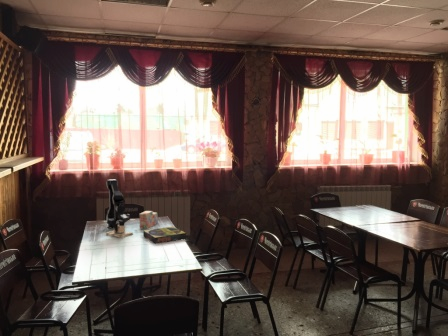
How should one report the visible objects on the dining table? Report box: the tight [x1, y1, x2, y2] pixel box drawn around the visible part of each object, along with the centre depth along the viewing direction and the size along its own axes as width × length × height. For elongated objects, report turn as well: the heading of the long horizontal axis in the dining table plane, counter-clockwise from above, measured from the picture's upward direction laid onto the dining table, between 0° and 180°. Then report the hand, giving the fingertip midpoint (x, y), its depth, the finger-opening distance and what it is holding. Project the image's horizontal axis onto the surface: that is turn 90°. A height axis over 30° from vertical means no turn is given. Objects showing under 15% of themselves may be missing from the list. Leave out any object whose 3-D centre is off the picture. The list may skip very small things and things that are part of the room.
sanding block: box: [113, 224, 126, 233], centre depth 307 cm, size 7×4×5 cm, turn 60°
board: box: [105, 230, 134, 239], centre depth 307 cm, size 18×10×2 cm, turn 60°
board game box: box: [142, 225, 187, 245], centre depth 297 cm, size 24×24×5 cm
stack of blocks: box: [139, 210, 159, 230], centre depth 336 cm, size 21×6×12 cm, turn 165°
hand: (119, 231), depth 307 cm, fingers closed on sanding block, 4 cm apart
